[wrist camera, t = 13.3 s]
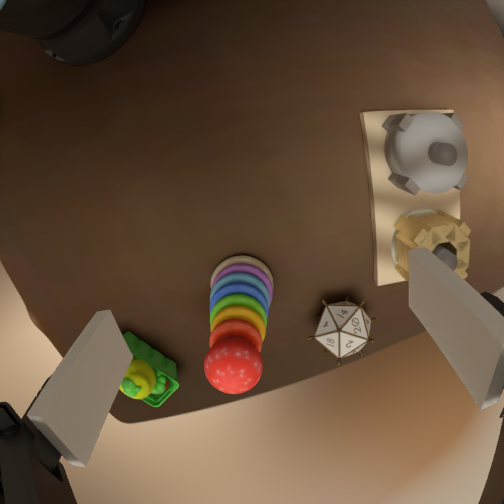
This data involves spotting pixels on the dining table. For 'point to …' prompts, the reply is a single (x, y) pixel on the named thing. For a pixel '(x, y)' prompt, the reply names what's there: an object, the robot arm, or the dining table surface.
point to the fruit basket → (148, 373)
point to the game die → (343, 328)
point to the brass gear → (431, 238)
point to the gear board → (392, 196)
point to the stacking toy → (238, 323)
